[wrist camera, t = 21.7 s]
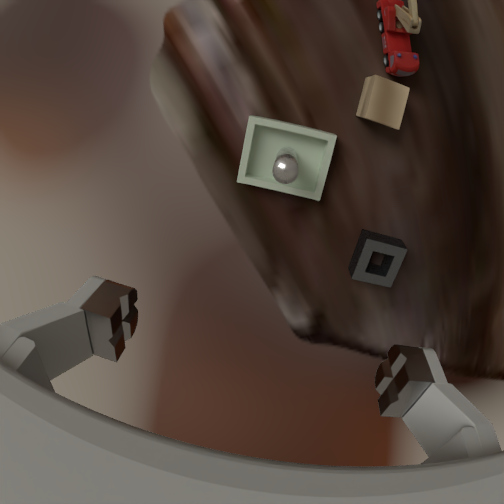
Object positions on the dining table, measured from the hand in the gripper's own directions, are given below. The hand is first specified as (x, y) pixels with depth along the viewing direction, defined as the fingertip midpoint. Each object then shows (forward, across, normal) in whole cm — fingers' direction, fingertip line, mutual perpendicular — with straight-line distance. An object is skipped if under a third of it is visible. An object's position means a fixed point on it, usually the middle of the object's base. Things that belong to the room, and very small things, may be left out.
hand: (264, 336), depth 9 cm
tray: (+31, 0, 0) cm, 31 cm away
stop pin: (+30, 0, 0) cm, 31 cm away
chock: (+31, -9, -10) cm, 34 cm away
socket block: (+31, -15, +10) cm, 36 cm away
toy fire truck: (+31, -9, -20) cm, 38 cm away
